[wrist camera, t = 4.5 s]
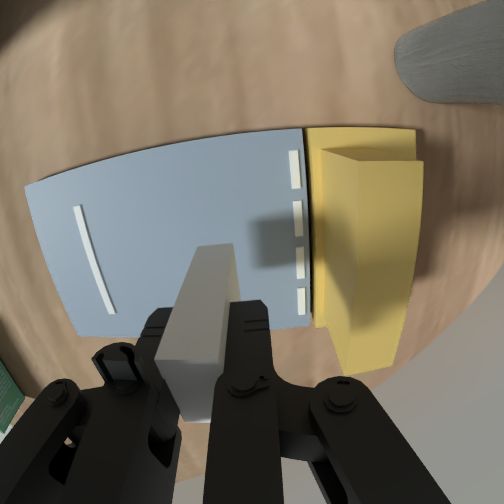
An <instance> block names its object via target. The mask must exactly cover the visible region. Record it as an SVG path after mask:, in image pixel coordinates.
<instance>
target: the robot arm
mask: <svg viewBox="0 0 504 504" xmlns="http://www.w3.org/2000/svg"><path fill="white" fill-rule="evenodd" d="M92 361H93V363H94V365H95V366H96V368H97V370H98V371H99V373H100V375H101V376H102V378H103V380H104V381H105V383H104V386H102V387H97V388H91V389H85V390H80V389H79V387H78V386H77V385H76V383H74V382H73V381H72V380H70V379H65V378H64V379H58V380H56V381H53V382H51V383H50V384H49V385H48V386H47V387H45V388H44V390H43V391H42V392H41V393H40V394H39V396H38V397H37V398H36V399H35V400H34V402H33V403H32V404H31V405H30V406H29V408H28V409H27V410H26V411H25V413H24V414H23V415H22V416H21V418H20V419H19V420H18V421H17V423H16V424H15V425H14V427H13V428H12V429H11V431H10V432H9V433H8V434H7V436H6V437H5V438H4V440H3V441H2V442H1V444H0V504H172V498H173V491H174V485H175V478H176V471H177V465H178V458H179V452H180V446H181V440H182V436H181V431H180V429H179V427H178V426H177V424H178V419H179V414H181V416H182V418H183V419H184V421H185V422H199V423H210V432H209V442H208V452H207V462H206V472H205V483H204V494H203V504H284V496H283V482H282V468H281V457H285V458H290V459H296V460H302V461H307V462H308V464H309V467H310V469H311V471H312V473H313V475H314V477H315V480H316V482H317V484H318V486H319V488H320V490H321V492H322V494H323V497H324V499H325V501H326V503H327V504H451V503H450V501H449V500H448V498H447V497H446V496H445V494H444V493H443V491H442V490H441V488H440V487H439V486H438V484H437V483H436V482H435V480H434V479H433V477H432V476H431V474H430V473H429V471H428V470H427V469H426V467H425V466H424V465H423V463H422V462H421V460H420V459H419V457H418V456H417V455H416V453H415V452H414V450H413V449H412V448H411V446H410V445H409V443H408V442H407V441H406V439H405V438H404V437H403V435H402V434H401V433H400V431H399V430H398V428H397V427H396V425H395V424H394V423H393V421H392V420H391V419H390V417H389V416H388V414H387V413H386V412H385V410H384V409H383V407H382V406H381V405H380V403H379V402H378V401H377V399H376V398H375V397H374V395H373V394H372V392H371V391H370V390H369V388H368V387H367V386H365V385H364V384H363V383H362V382H361V381H359V380H356V379H354V378H351V377H343V376H337V377H332V378H328V379H326V380H324V381H322V382H320V383H318V384H317V386H316V387H315V388H311V387H303V386H297V385H293V384H290V383H288V382H286V381H284V380H283V379H282V378H280V377H279V376H278V375H277V373H276V372H275V370H274V366H273V358H272V347H271V336H270V326H269V315H268V308H267V306H266V305H265V304H264V303H263V302H262V301H261V299H260V300H249V301H241V295H240V289H239V282H238V275H237V268H236V261H235V254H234V247H233V243H226V244H216V245H206V246H198V247H197V249H196V252H195V254H194V257H193V259H192V261H191V264H190V266H189V269H188V271H187V274H186V276H185V279H184V281H183V284H182V286H181V289H180V291H179V294H178V296H177V299H176V302H175V304H174V307H163V308H157V309H156V310H155V311H154V312H153V313H152V314H151V315H150V316H149V317H148V319H147V321H146V323H145V325H144V329H143V330H142V332H141V334H140V338H138V341H137V343H136V345H135V346H134V345H132V344H131V343H125V342H119V343H113V344H110V345H107V346H105V347H103V348H102V349H100V350H99V351H98V352H96V354H95V355H94V356H93V357H92ZM67 437H68V438H69V439H70V440H71V441H72V443H71V444H68V445H66V444H65V443H64V442H65V440H66V439H67Z"/></svg>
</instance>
